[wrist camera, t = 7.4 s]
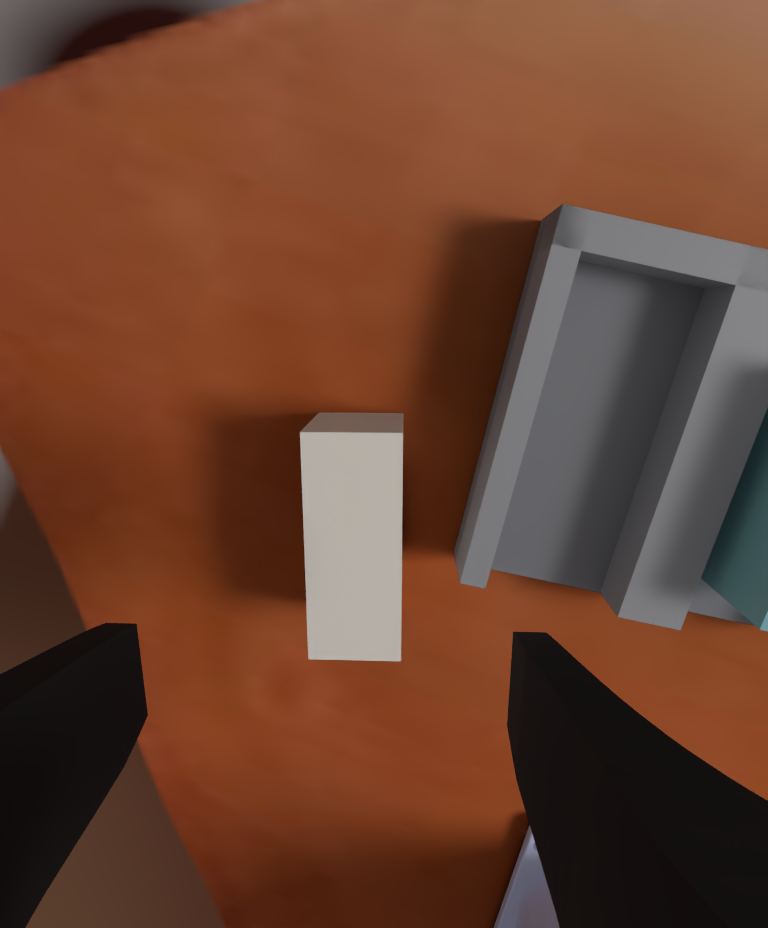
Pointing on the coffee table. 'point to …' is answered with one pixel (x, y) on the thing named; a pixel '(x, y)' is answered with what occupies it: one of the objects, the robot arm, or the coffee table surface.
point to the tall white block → (353, 534)
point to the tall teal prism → (745, 540)
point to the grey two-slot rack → (622, 415)
